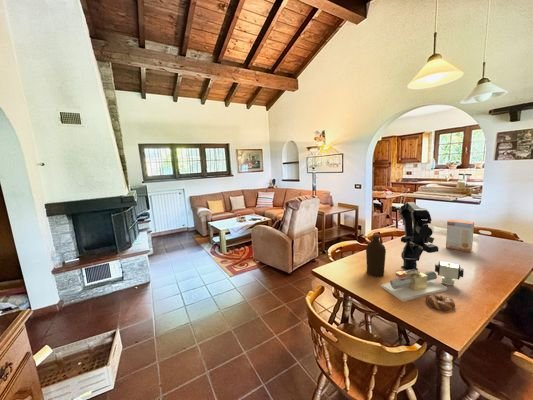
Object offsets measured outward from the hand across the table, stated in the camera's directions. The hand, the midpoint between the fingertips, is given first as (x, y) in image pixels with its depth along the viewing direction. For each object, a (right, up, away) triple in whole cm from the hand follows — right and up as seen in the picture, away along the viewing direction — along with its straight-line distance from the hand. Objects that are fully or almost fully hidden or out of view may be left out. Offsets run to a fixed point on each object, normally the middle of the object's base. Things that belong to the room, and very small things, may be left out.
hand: (417, 258), depth 126 cm
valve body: (-7, -13, -6) cm, 16 cm away
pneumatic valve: (+14, -13, -4) cm, 19 cm away
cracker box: (+56, -4, +39) cm, 69 cm away
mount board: (-6, -14, -6) cm, 17 cm away
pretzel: (-3, -17, -20) cm, 26 cm away
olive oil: (-18, -13, +11) cm, 25 cm away
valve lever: (-12, -6, -9) cm, 16 cm away
